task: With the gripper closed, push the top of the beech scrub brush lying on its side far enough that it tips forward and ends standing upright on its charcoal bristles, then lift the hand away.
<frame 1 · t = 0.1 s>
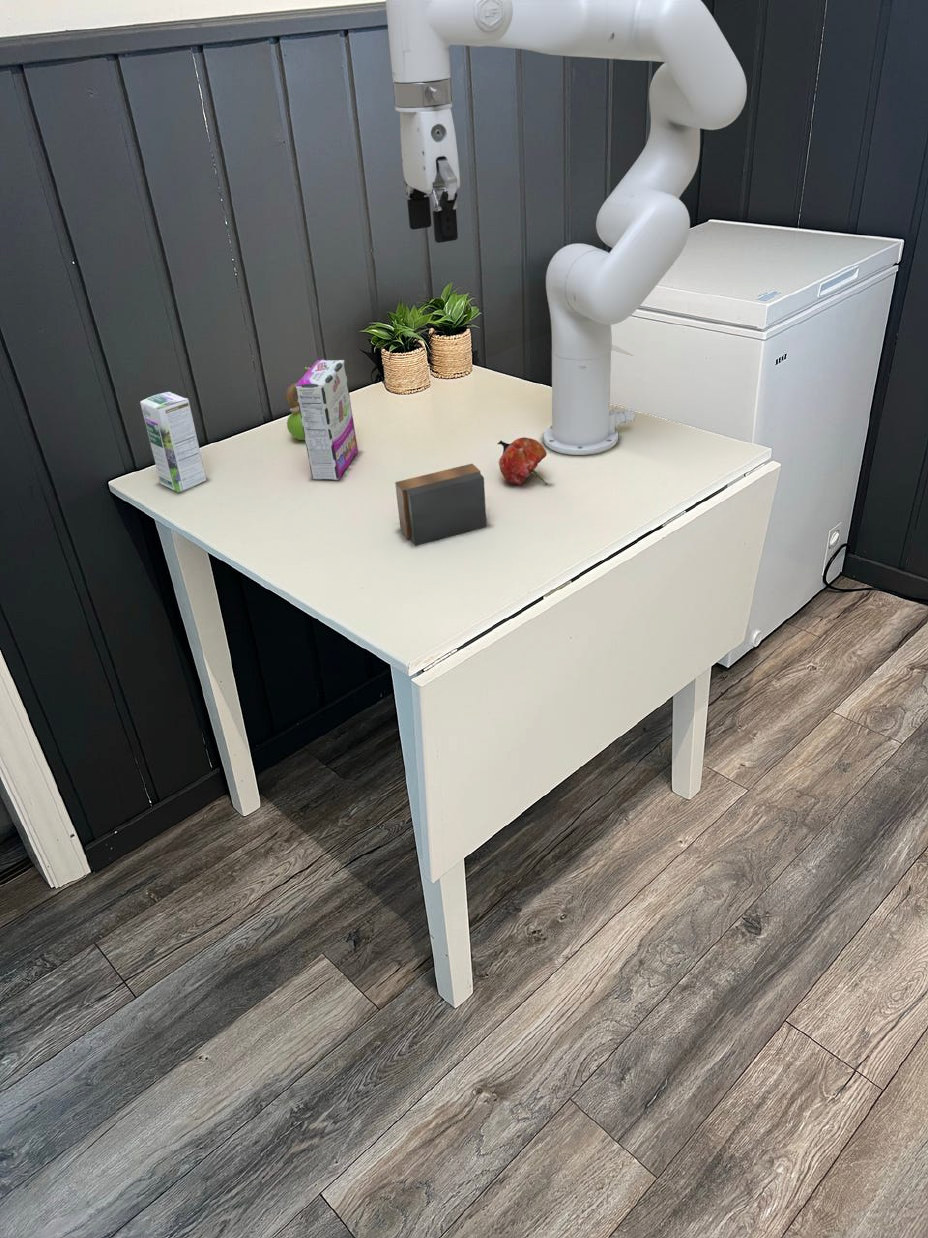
hand: (433, 234, 133), 37 cm above the table, tool pointing down, fingers open, 9 cm apart
snail figurine: (307, 438, 169), on the table
pomegranate: (524, 482, 150), on the table
candy bar box: (335, 467, 158), on the table
syrup box: (184, 483, 157), on the table
brush: (444, 528, 138), on the table
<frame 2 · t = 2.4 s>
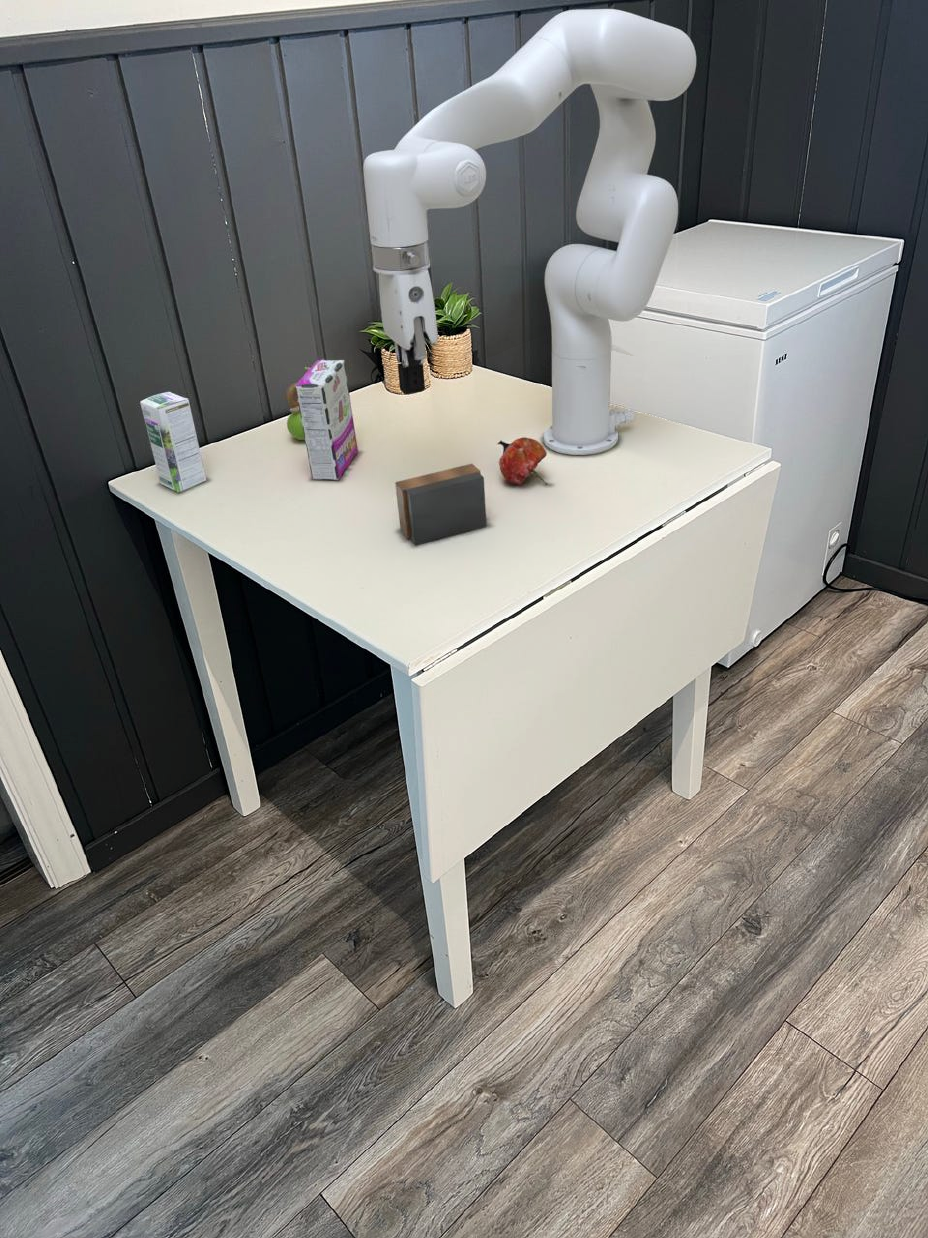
hand: (412, 390, 134), 18 cm above the table, tool pointing down, fingers closed
nothing on the table moved.
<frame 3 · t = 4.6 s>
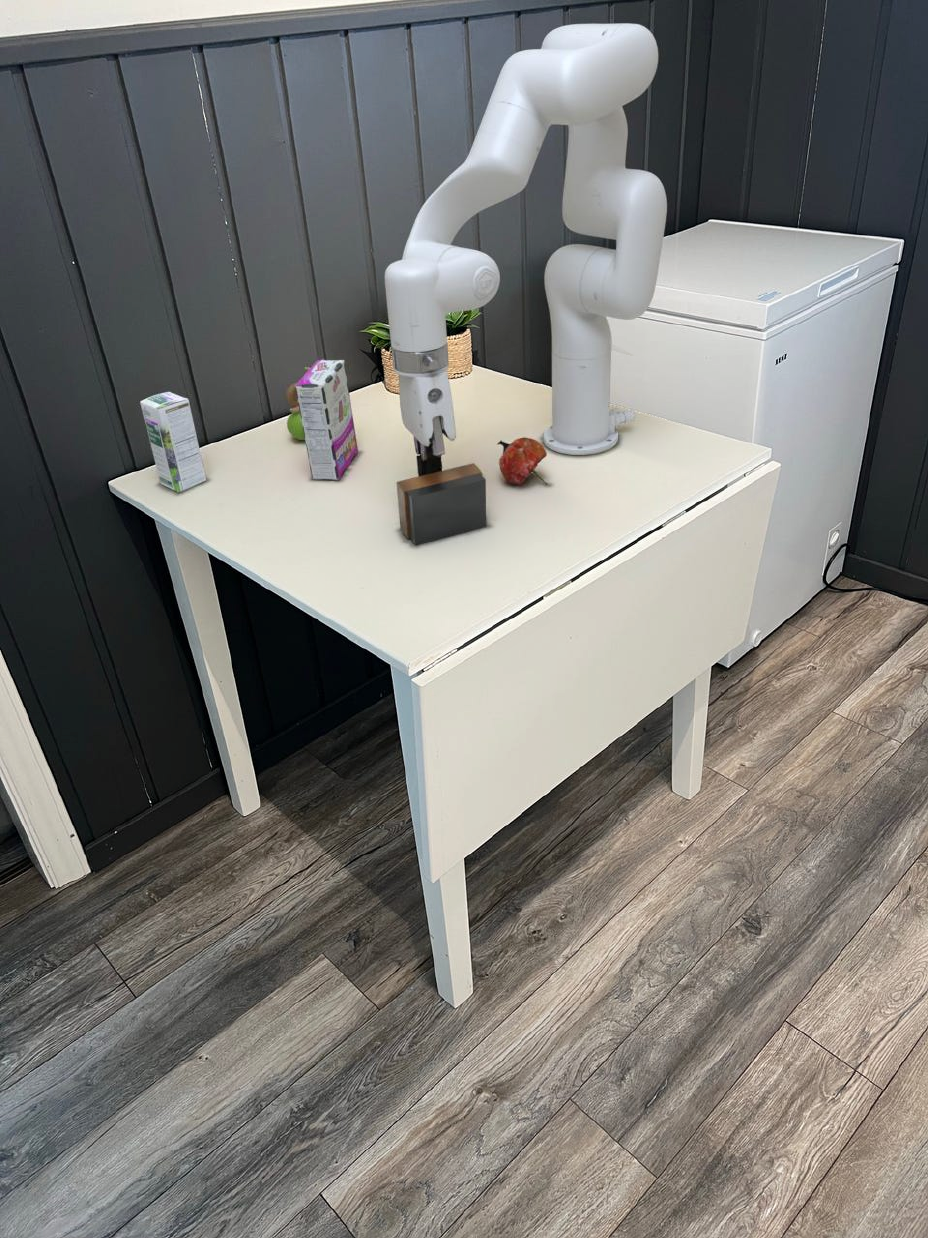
hand: (430, 480, 138), 6 cm above the table, tool pointing down, fingers closed
brush: (444, 527, 138), on the table, touching gripper
everything else where it was.
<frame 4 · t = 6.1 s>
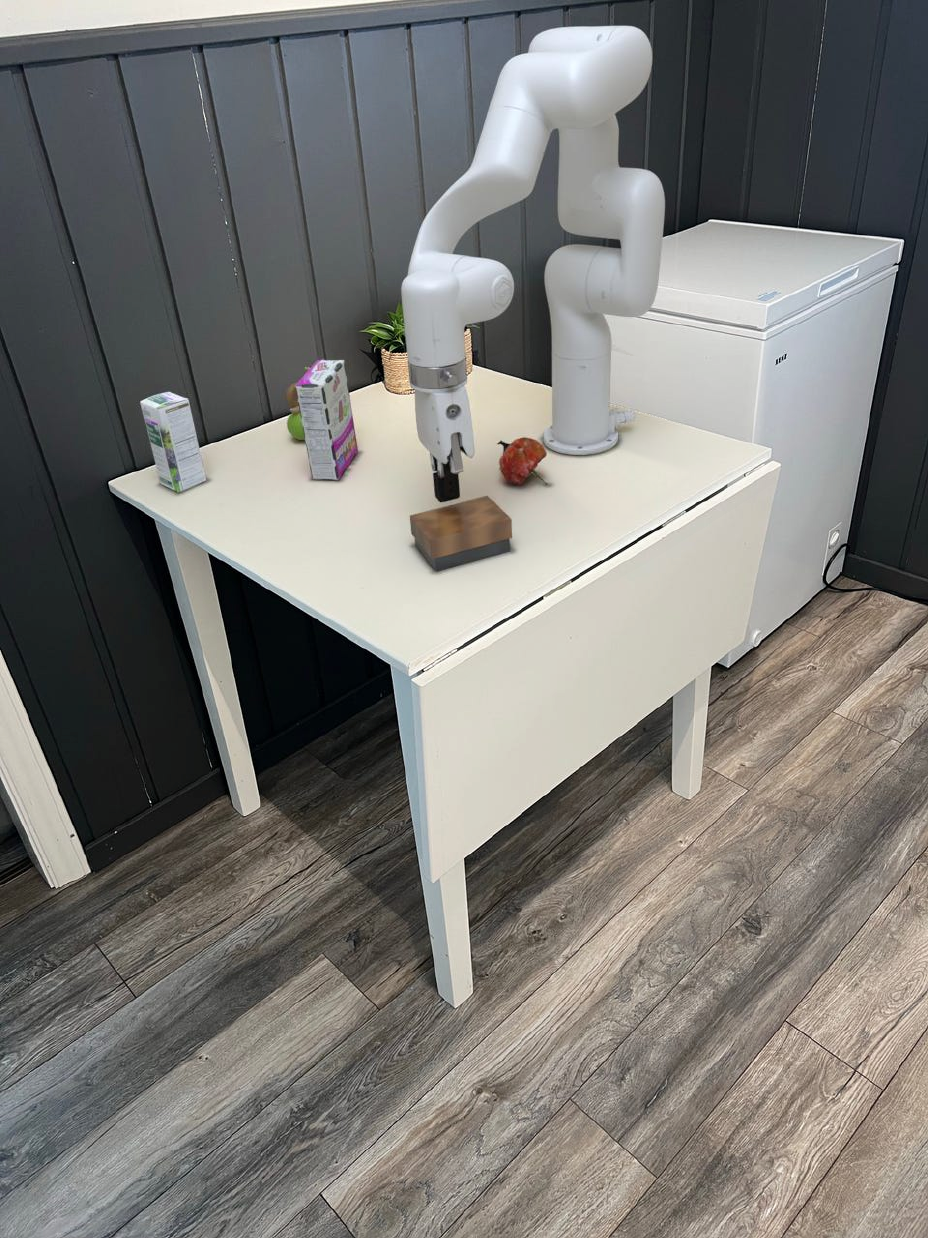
hand: (447, 497, 133), 6 cm above the table, tool pointing down, fingers closed
brush: (450, 520, 135), point 3 cm above the table, tilted 90°
everything else where it was.
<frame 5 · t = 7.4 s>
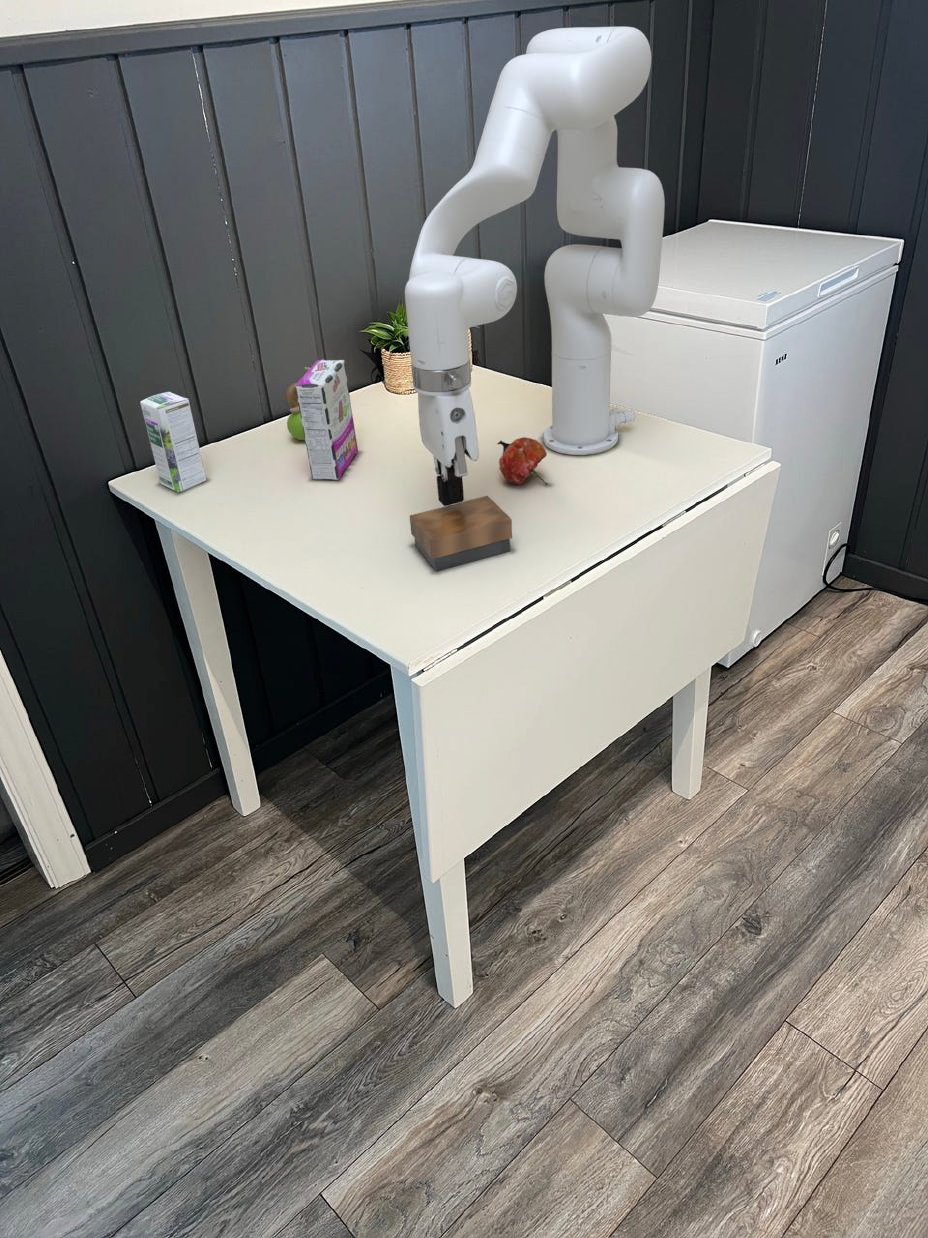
hand: (451, 501, 132), 6 cm above the table, tool pointing down, fingers closed
nothing on the table moved.
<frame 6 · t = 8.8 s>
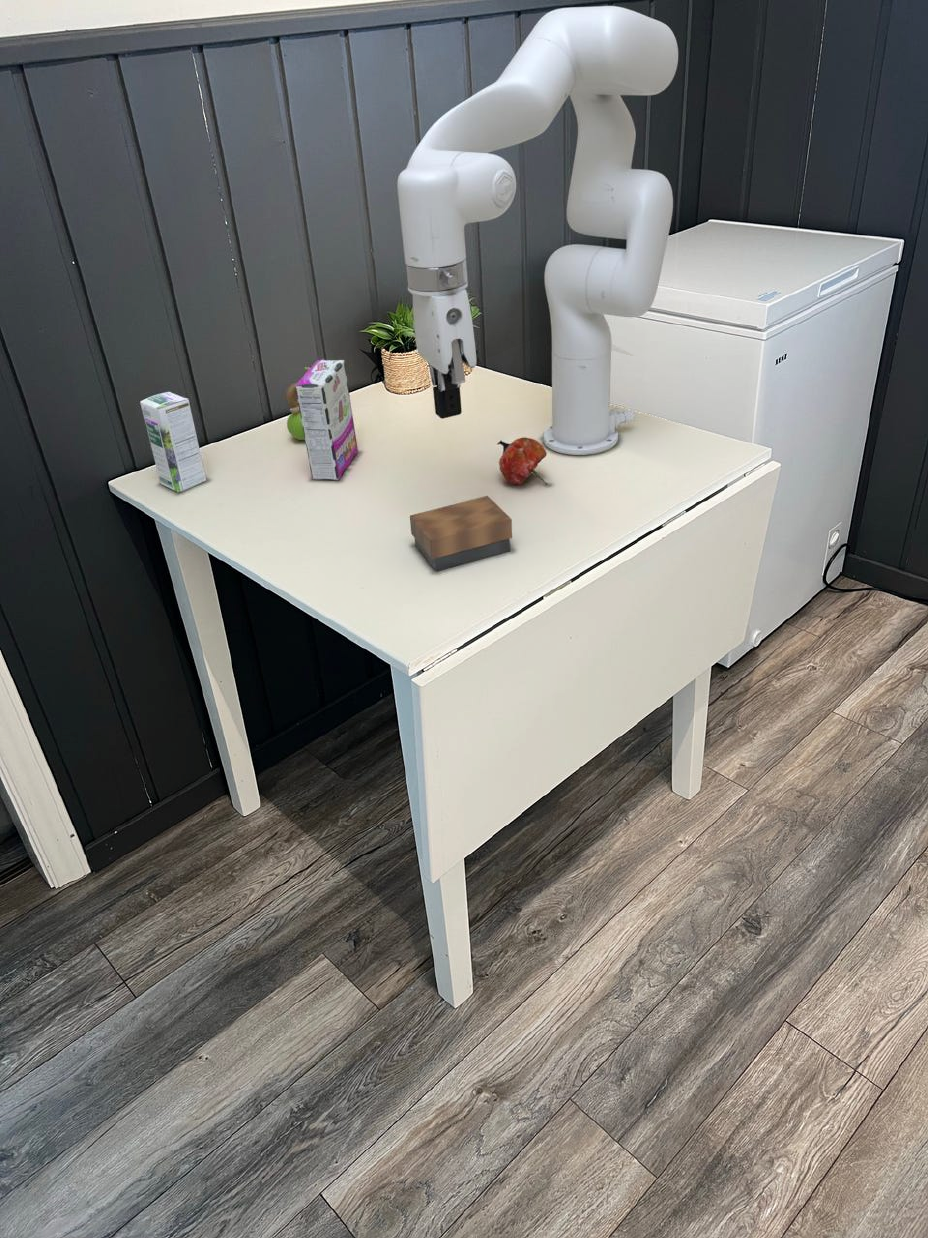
hand: (448, 414, 128), 18 cm above the table, tool pointing down, fingers closed
nothing on the table moved.
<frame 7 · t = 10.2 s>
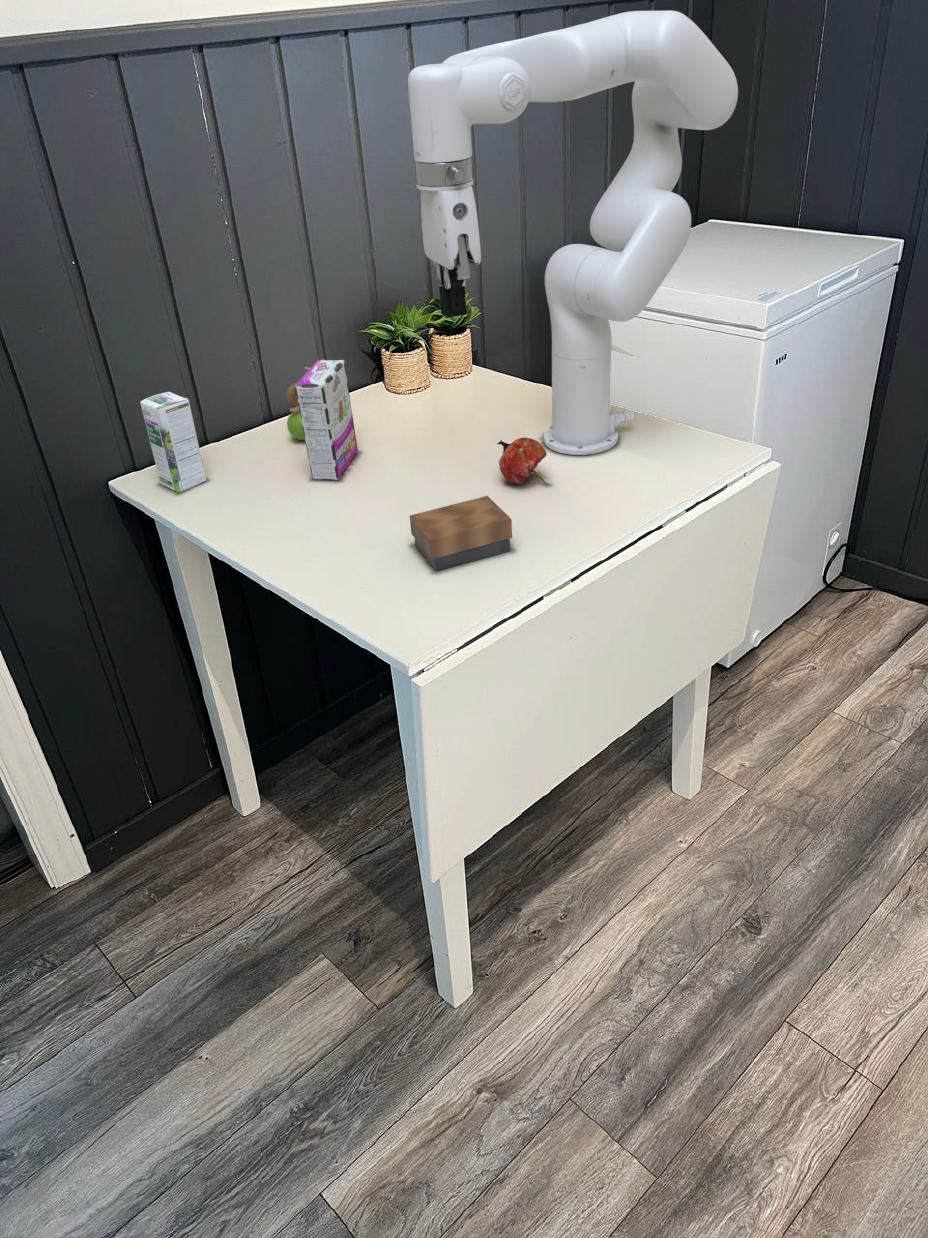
hand: (453, 314, 134), 27 cm above the table, tool pointing down, fingers closed
nothing on the table moved.
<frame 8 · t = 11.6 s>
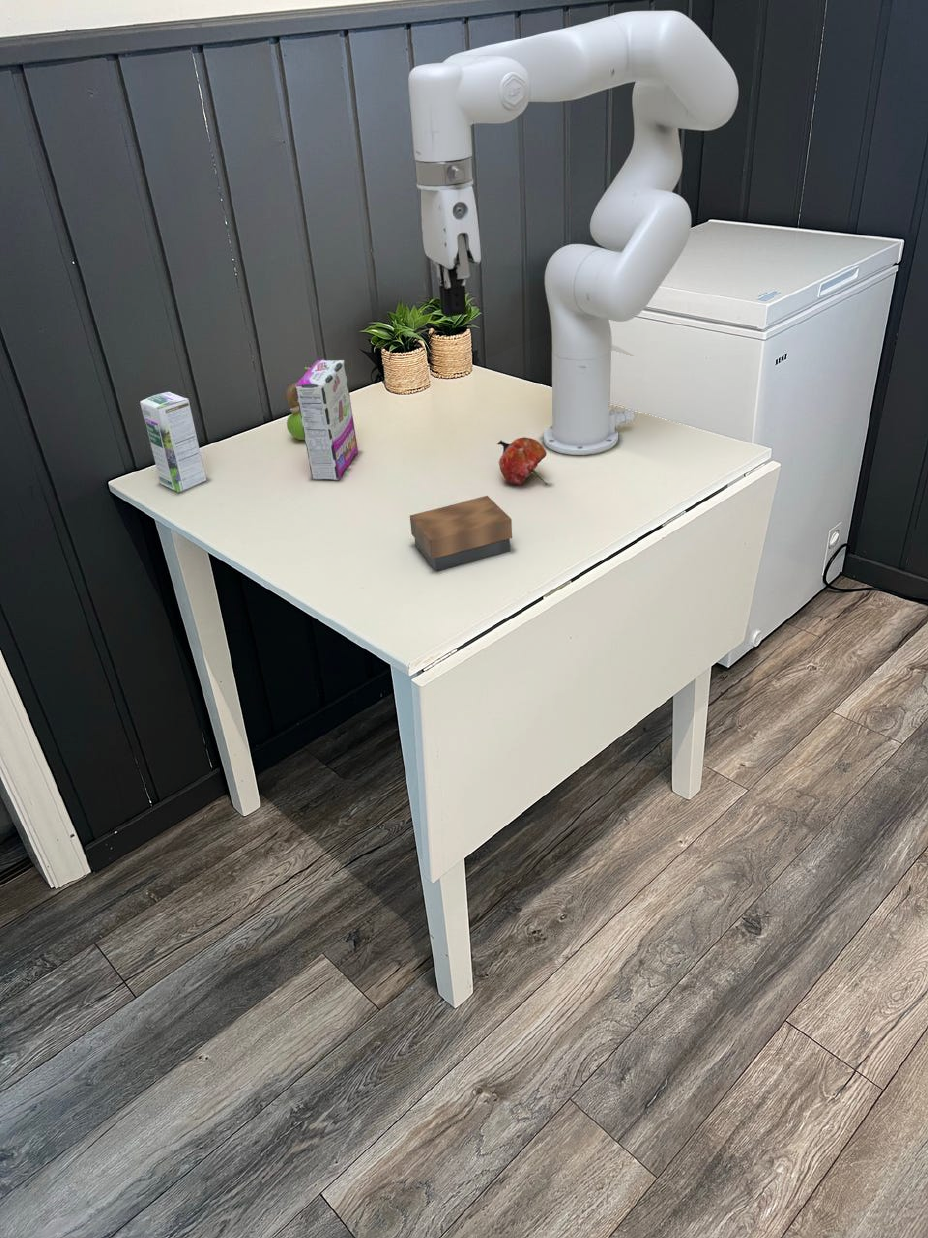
hand: (453, 313, 134), 27 cm above the table, tool pointing down, fingers closed
nothing on the table moved.
at the end: brush tilted 90°; brush inside the target area (1.0 cm from its centre), point 2.5 cm above the table; the gripper is holding nothing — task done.
